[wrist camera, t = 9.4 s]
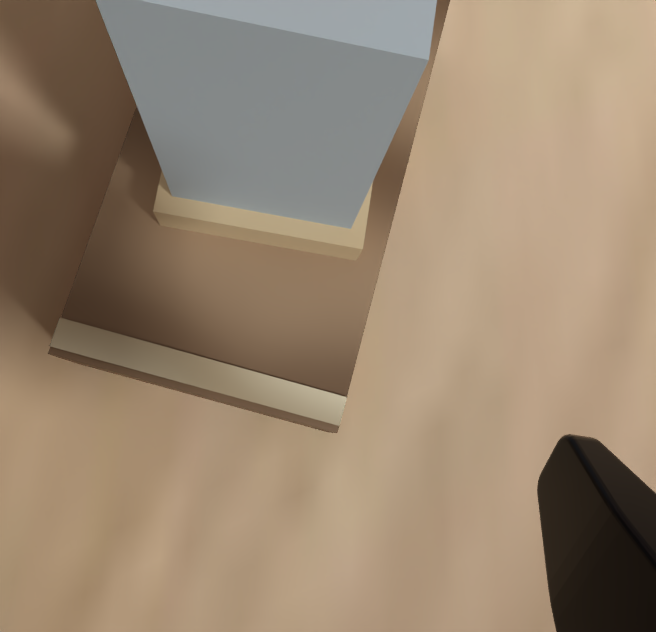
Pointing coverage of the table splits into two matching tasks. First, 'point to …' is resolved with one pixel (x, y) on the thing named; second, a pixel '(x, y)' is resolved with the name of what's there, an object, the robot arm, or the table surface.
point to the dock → (228, 294)
